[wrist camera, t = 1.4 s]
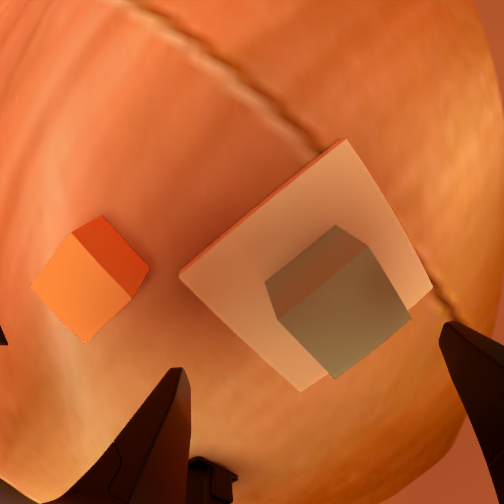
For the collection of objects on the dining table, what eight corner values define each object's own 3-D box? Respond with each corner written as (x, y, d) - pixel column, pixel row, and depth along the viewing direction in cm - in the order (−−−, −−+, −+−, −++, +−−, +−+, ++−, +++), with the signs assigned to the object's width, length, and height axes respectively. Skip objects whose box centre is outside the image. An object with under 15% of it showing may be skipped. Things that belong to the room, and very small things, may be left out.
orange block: (107, 308, 21) (84, 343, 17) (62, 260, 20) (29, 286, 15) (150, 267, 21) (132, 298, 16) (102, 215, 19) (71, 232, 15)
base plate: (297, 383, 25) (300, 392, 24) (180, 270, 21) (177, 277, 20) (425, 282, 23) (433, 287, 22) (339, 139, 19) (346, 138, 18)
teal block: (314, 337, 22) (334, 379, 18) (264, 282, 21) (276, 319, 16) (377, 286, 22) (411, 318, 17) (335, 224, 20) (368, 246, 15)
